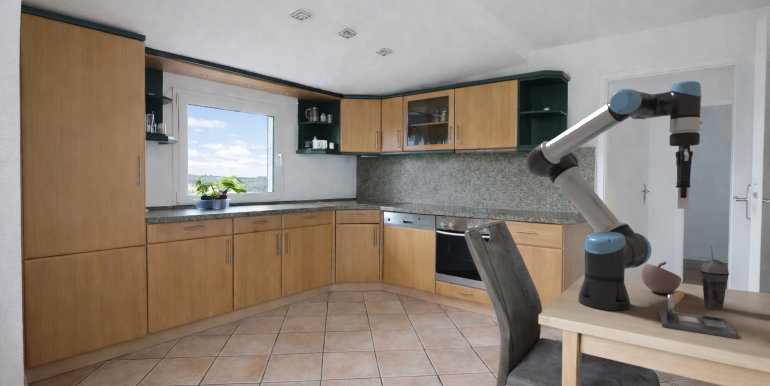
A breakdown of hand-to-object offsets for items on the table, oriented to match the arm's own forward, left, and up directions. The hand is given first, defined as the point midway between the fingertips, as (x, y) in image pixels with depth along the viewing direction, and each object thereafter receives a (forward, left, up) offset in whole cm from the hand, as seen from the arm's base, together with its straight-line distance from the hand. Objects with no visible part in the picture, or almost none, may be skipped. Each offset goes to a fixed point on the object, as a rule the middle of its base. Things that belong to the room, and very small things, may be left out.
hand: (682, 208), depth 125 cm
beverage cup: (+10, +9, -33) cm, 35 cm away
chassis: (+2, -13, -32) cm, 35 cm away
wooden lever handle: (-2, -6, -28) cm, 28 cm away
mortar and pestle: (-4, +22, -33) cm, 39 cm away
